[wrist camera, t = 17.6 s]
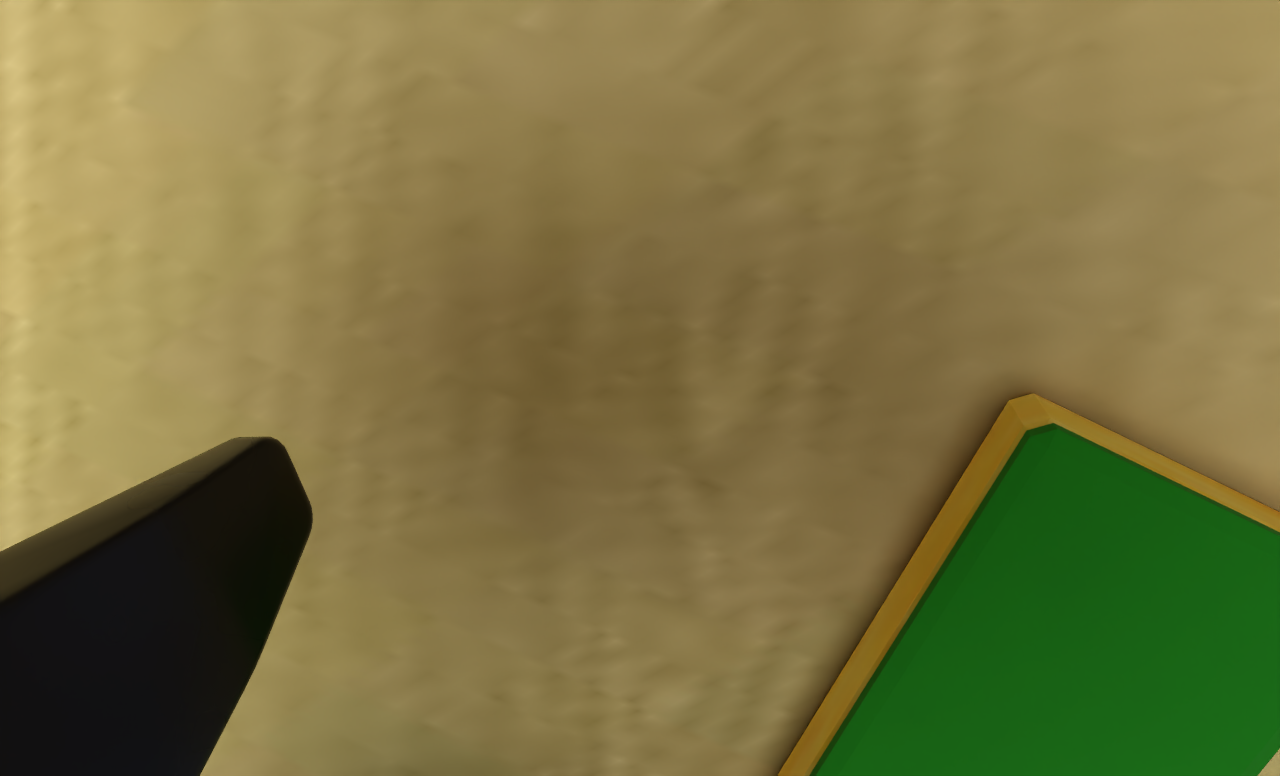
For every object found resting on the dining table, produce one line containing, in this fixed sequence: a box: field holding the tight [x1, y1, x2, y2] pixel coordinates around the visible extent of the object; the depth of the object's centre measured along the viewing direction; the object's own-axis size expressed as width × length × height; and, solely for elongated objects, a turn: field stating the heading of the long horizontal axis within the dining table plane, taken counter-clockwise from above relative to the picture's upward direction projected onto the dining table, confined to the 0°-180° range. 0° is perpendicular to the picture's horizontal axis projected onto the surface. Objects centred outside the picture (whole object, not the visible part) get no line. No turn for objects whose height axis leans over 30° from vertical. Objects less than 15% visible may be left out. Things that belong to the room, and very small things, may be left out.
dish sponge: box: [777, 393, 1280, 776], centre depth 22 cm, size 7×14×2 cm, turn 156°
